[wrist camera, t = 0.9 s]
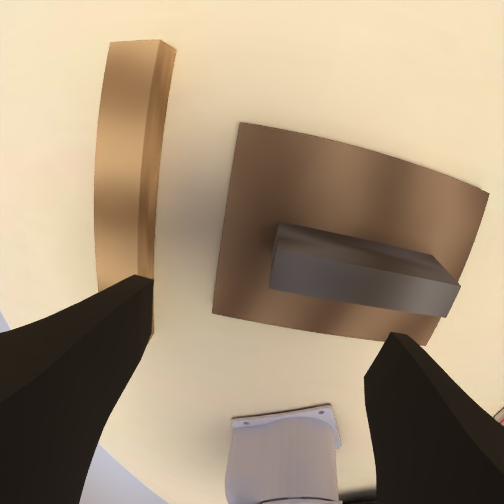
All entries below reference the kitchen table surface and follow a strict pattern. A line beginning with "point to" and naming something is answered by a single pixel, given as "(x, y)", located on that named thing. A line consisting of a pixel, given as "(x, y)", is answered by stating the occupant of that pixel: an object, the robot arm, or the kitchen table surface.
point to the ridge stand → (341, 238)
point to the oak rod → (129, 158)
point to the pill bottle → (500, 417)
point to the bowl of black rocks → (365, 502)
